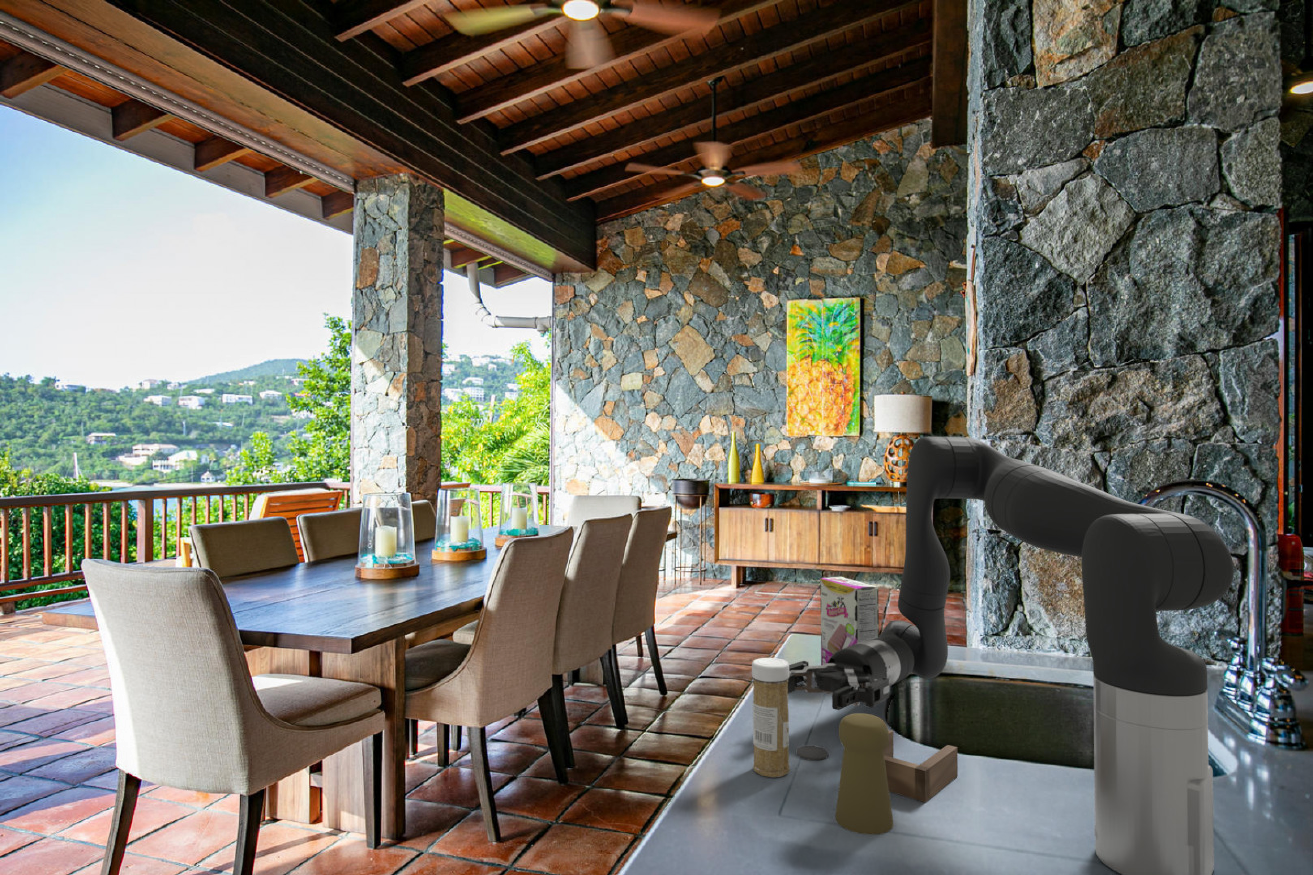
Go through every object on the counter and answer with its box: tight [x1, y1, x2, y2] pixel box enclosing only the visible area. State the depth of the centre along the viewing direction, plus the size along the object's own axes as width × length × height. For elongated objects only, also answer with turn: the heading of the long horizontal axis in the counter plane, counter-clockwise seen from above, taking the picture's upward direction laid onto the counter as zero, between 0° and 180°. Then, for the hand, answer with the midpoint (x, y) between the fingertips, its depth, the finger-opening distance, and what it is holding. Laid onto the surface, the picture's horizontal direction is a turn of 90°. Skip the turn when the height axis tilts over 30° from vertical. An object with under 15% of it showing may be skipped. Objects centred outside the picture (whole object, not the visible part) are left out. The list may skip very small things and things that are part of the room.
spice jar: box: [751, 657, 791, 778], centre depth 96 cm, size 5×5×14 cm
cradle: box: [883, 729, 959, 803], centre depth 94 cm, size 9×9×4 cm
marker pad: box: [795, 744, 829, 761], centre depth 101 cm, size 4×4×1 cm
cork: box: [834, 712, 895, 836], centre depth 83 cm, size 6×6×11 cm
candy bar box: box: [819, 576, 880, 666], centre depth 137 cm, size 11×5×16 cm, turn 22°
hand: (805, 694), depth 102 cm, fingers open, 8 cm apart
